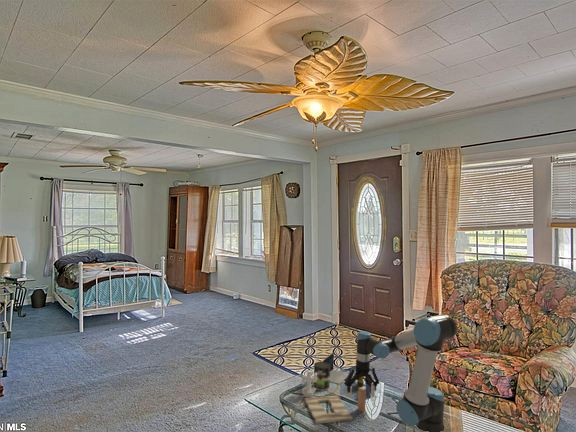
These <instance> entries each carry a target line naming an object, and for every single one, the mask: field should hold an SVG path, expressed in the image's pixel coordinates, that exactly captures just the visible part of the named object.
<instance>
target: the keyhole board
mask: <svg viewBox="0 0 576 432" xmlns="http://www.w3.org/2000/svg"><path fill="white" fill-rule="evenodd" d="M304 402H305V404H306V406H307V408H308V410H309V412H310V414H311V416H312V418H313V420H314V422H315V424H317V425H318V424H329V423H340V422H350V421H353V419H354V418H353V415H351V413H350V412H349V410H348V409H347V407H346V406H345V405H344V403H343V402H342V400H341V398H339V396H338V395H330V396H329V395H328V396H326V395H325V396H315V397H311V398H309V397H304ZM321 403H328V404H329V405H330V409H331V411H332V412H329V413H327V412H326V410H325V409H324V407H323V406H321V405H320V404H321Z"/></svg>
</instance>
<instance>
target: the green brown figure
mask: <svg viewBox="0 0 576 432" xmlns="http://www.w3.org/2000/svg"><path fill="white" fill-rule="evenodd" d="M313 366H314V367H313V375H314V374H315V373H317V381H316V382H313V385H312V387H313V388H317V389H316V390H317V391H319V392H320V391H322V392H323V391H328V390H329V389H330V385H331V384H330V383H331V382H330V364H329V363H326V362H323V361H316V362H315V363H314V364H313Z"/></svg>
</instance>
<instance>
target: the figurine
mask: <svg viewBox="0 0 576 432" xmlns="http://www.w3.org/2000/svg"><path fill="white" fill-rule="evenodd" d="M312 375H313V376H312ZM305 381H306V385H305ZM316 381H317V373H315V374H314V373H313V370H309V369H308V370H307V371H306V375H305V374H304V375H302V376H301V384H302V385H304V387H303V388H302V389H301V393H302V395H303V397H304V398H313V396H314V394H315V393H316V390H317V388H314V387H313V386H312V383H314V382H316Z"/></svg>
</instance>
